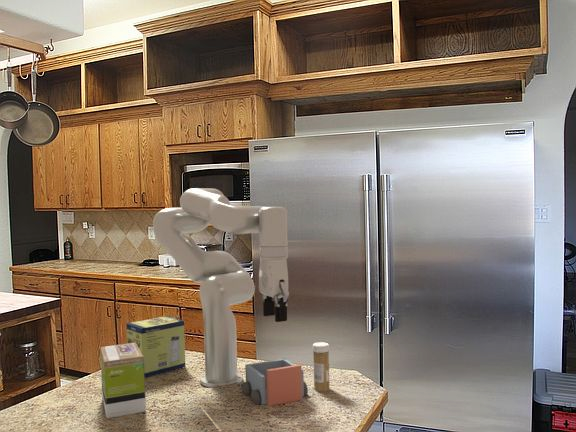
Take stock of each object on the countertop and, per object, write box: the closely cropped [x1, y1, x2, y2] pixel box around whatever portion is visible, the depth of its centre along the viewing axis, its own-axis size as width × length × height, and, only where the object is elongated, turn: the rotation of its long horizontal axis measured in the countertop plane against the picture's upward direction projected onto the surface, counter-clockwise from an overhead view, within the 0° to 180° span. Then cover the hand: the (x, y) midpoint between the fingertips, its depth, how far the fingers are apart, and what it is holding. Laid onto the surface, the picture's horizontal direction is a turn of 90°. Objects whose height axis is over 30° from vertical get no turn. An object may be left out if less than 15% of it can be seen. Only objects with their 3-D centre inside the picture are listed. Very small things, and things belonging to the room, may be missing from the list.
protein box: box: [125, 315, 186, 379], centre depth 170 cm, size 10×16×16 cm
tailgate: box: [266, 364, 303, 407], centre depth 138 cm, size 1×9×9 cm, turn 115°
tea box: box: [99, 342, 147, 419], centre depth 140 cm, size 15×10×15 cm
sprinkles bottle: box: [312, 341, 330, 393], centre depth 147 cm, size 5×5×13 cm
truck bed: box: [241, 358, 309, 406], centre depth 144 cm, size 12×15×8 cm
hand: (274, 317), depth 142 cm, fingers open, 7 cm apart
